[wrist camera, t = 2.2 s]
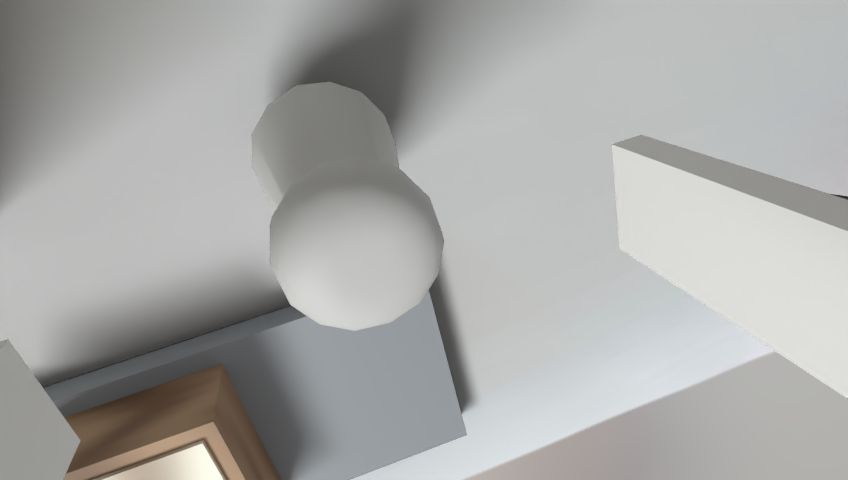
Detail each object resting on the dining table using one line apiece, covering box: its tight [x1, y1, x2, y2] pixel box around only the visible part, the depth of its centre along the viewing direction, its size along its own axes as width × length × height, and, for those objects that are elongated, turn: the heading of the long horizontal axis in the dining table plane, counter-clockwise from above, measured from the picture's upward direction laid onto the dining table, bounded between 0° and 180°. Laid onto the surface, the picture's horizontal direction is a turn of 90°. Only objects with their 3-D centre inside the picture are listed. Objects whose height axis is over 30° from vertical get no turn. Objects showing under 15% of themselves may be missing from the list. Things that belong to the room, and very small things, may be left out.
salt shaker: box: [252, 82, 444, 331], centre depth 18 cm, size 6×6×13 cm
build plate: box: [43, 290, 467, 480], centre depth 28 cm, size 22×11×2 cm, turn 104°
